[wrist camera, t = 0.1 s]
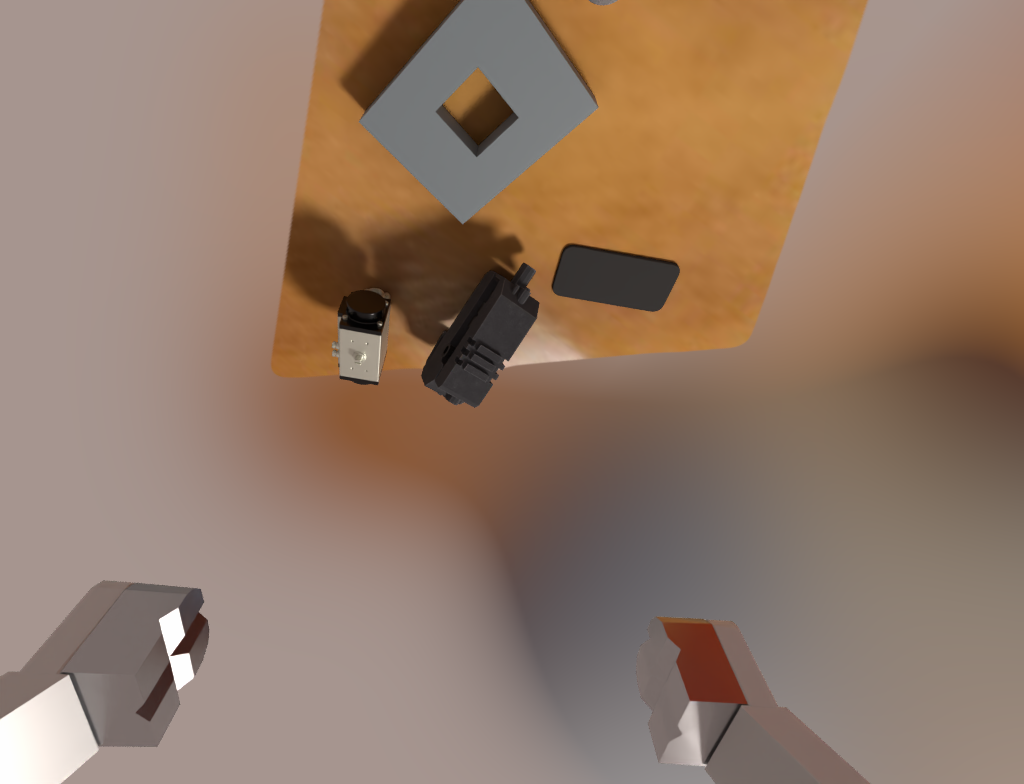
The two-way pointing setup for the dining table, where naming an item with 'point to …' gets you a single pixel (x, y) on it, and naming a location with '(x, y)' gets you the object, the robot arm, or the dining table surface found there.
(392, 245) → the dining table surface
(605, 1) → the steel pin
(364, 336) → the pneumatic valve
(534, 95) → the socket plate
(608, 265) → the phone
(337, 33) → the dining table surface
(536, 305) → the tool
